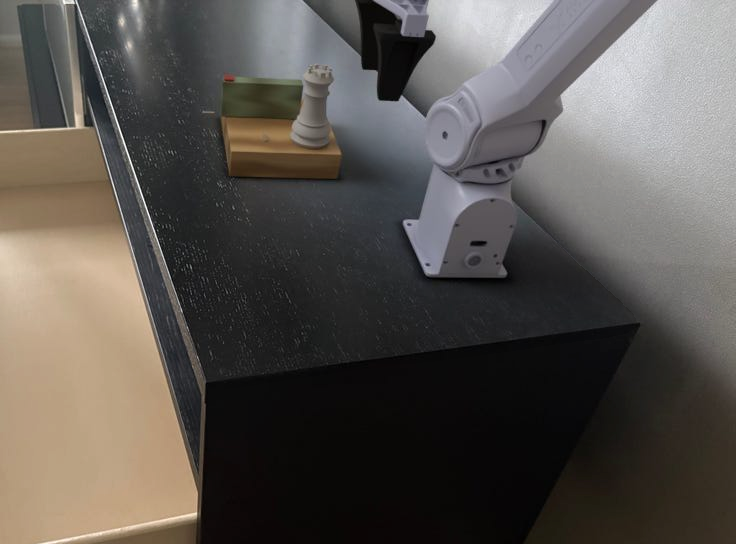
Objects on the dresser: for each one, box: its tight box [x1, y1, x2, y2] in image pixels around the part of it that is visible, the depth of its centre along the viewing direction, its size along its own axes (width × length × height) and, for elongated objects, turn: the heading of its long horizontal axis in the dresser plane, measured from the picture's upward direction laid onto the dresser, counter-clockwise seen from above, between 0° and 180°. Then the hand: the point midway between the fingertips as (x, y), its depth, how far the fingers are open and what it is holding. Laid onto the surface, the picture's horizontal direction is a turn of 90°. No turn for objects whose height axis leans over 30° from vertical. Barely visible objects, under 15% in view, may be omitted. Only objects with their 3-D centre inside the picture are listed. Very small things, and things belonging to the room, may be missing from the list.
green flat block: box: [219, 74, 304, 119], centre depth 86 cm, size 9×2×4 cm, turn 96°
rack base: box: [201, 98, 343, 180], centre depth 87 cm, size 16×15×3 cm
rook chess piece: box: [290, 63, 335, 149], centre depth 81 cm, size 4×4×8 cm
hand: (379, 83), depth 78 cm, fingers open, 7 cm apart
